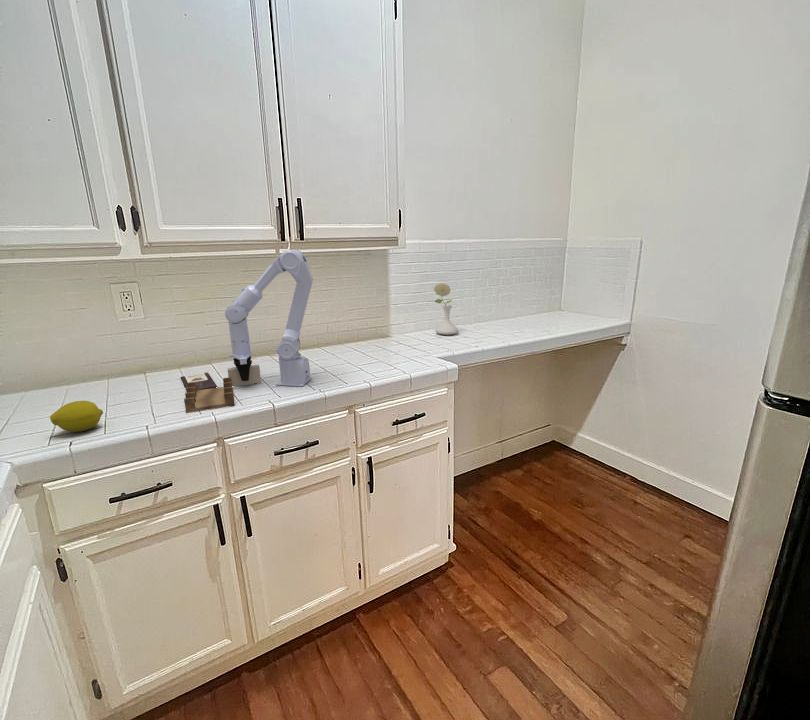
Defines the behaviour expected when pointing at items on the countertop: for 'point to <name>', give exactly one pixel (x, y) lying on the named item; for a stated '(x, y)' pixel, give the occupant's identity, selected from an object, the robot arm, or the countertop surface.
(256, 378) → the clay slab
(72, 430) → the lemon
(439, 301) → the flower in vase
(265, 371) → the countertop surface
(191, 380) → the chocolate bar
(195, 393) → the pegged wooden tray
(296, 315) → the robot arm
